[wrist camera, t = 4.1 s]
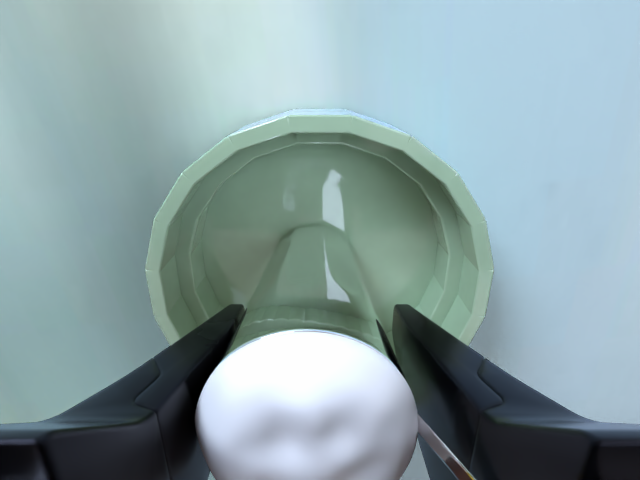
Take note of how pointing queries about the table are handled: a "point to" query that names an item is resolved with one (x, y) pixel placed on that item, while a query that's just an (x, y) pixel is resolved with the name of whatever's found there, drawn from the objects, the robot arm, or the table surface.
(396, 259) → the dish
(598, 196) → the table surface
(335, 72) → the table surface
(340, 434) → the milkshake
